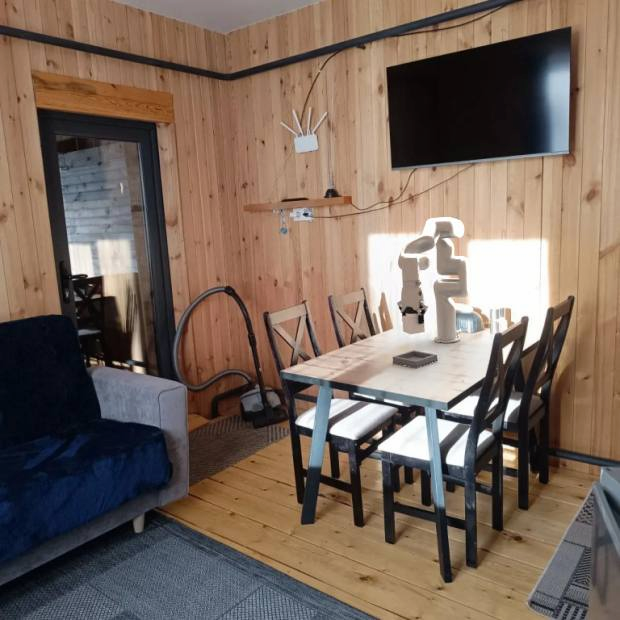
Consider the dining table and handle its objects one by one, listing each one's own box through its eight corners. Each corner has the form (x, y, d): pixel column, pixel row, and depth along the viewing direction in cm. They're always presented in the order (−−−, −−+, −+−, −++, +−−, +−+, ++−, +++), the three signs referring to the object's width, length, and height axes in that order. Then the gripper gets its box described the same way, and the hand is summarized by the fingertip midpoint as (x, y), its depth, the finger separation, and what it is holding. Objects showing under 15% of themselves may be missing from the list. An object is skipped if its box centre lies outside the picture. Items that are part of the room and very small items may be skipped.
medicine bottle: (424, 332, 257) (423, 305, 255) (410, 334, 255) (408, 307, 253) (417, 329, 264) (415, 303, 262) (402, 331, 262) (401, 305, 260)
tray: (413, 356, 272) (413, 350, 271) (437, 361, 261) (437, 354, 260) (392, 363, 263) (392, 356, 263) (416, 368, 252) (416, 361, 252)
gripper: (432, 283, 251) (434, 323, 254) (402, 281, 265) (404, 319, 268) (420, 286, 247) (422, 326, 250) (390, 284, 260) (393, 322, 263)
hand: (413, 322), depth 259 cm, fingers closed on medicine bottle, 8 cm apart
